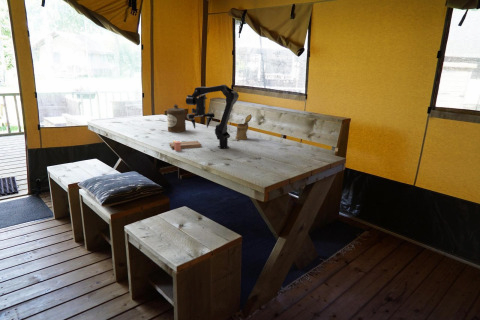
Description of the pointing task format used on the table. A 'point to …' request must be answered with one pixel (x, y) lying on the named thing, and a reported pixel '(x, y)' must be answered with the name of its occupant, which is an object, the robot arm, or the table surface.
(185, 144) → the board
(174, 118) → the wooden container
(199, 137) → the table surface
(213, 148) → the table surface
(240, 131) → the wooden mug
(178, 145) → the pink and yellow hammer
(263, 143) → the table surface
